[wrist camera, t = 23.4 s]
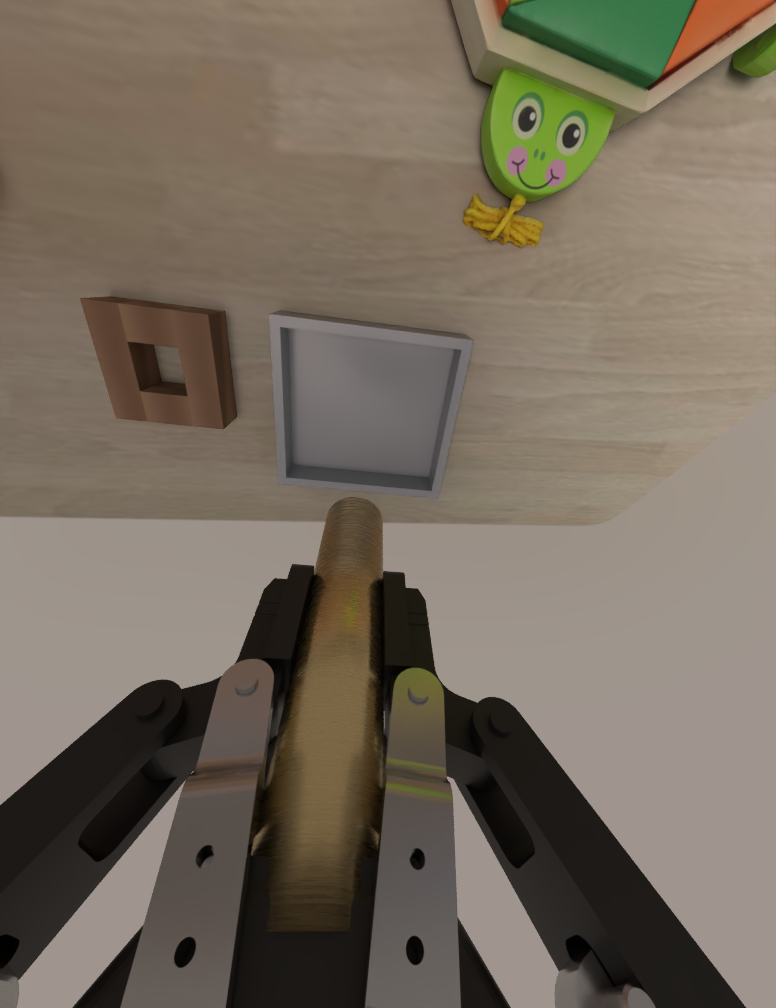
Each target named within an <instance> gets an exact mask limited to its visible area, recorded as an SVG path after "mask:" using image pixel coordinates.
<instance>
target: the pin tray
mask: <svg viewBox="0 0 776 1008" xmlns="http://www.w3.org/2000/svg"><path fill="white" fill-rule="evenodd" d="M269 326H270V344H271V362H272V380H273V398H274V416H275V434H276V453H277V471H278V484H284V485H295V486H306V487H317V488H327V489H338V490H349V491H360V492H371V493H382V494H393V495H404V496H414V497H425V498H436V499H438V497H439V492H440V488H441V483H442V479H443V474H444V470H445V466H446V461H447V457H448V452H449V448H450V444H451V439H452V435H453V430H454V426H455V421H456V417H457V413H458V408H459V404H460V399H461V395H462V391H463V386H464V382H465V377H466V373H467V368H468V364H469V360H470V355H471V351H472V346H473V342H474V340H473V339H471V338H470V337H468V336H466V335H464V334H456V333H448V332H441V331H433V330H425V329H417V328H410V327H402V326H394V325H387V324H379V323H371V322H363V321H356V320H348V319H340V318H332V317H325V316H317V315H309V314H302V313H294V312H286V311H277V312H274V313H270V314H269Z"/></svg>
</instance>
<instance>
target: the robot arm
mask: <svg viewBox="0 0 776 1008" xmlns="http://www.w3.org/2000/svg"><path fill="white" fill-rule="evenodd" d="M313 578H314V566H310V565H296V564H292V566H291V569H290V572H289V575H288V578H287V579H277V578H275V579H274V580H273V581H272V582H271V583H270V584H269V585H268V586H267V587H266V588H265V589H264V591H263V594H262V596H261V599H260V602H259V605H258V607H257V610H256V612H255V616H254V618H253V620H252V623H251V626H250V628H249V631H248V633H247V636H246V639H245V642H244V644H243V647H242V649H241V652H240V655H239V657H238V659H237V661H236V663H235V664H234V665H233V666H231V667H230V668H229V669H228V670H227V671H226V672H225V673H224V674H223V675H222V676H221V677H219V678H217V679H215V680H213V681H210V682H207V683H204V684H200V685H196V686H192V687H189V688H184V689H181V688H180V687H179V685H178V684H176V683H175V682H173V681H170V680H156V681H152V682H149V683H147V684H144V685H142V686H140V687H139V688H137V689H136V690H134V691H133V692H132V693H130V694H129V695H128V696H127V697H126V698H125V699H123V700H122V701H121V702H120V703H119V704H118V705H116V706H115V707H114V708H113V709H112V710H111V711H109V712H108V713H107V714H106V715H105V716H104V717H102V718H101V719H100V720H99V721H98V722H97V723H96V724H95V725H93V726H92V727H91V728H90V729H88V730H87V731H86V732H85V733H84V734H83V735H82V736H80V737H79V738H78V739H77V740H76V741H75V742H73V743H72V744H71V745H70V746H69V747H68V748H66V749H65V750H64V751H63V752H62V753H61V754H59V755H58V756H57V757H56V758H55V759H54V760H52V761H51V762H50V763H49V764H48V765H47V766H46V767H44V768H43V769H42V770H41V771H40V772H38V773H37V774H36V775H35V776H34V777H33V778H32V779H30V780H29V781H28V782H27V783H26V784H25V785H23V786H22V787H21V788H20V789H19V790H18V791H16V792H15V793H14V794H13V795H12V796H11V797H10V798H8V799H7V800H6V801H5V802H4V803H2V804H1V805H0V1008H16V1007H17V1003H18V997H19V983H18V980H19V979H20V978H21V977H22V975H23V974H24V973H25V972H26V971H27V969H28V968H29V967H30V966H31V965H32V963H33V962H34V961H35V960H36V959H37V957H38V956H39V955H40V954H41V952H42V951H43V950H44V949H45V948H46V947H47V945H48V944H49V943H50V942H51V941H52V939H53V938H54V937H55V936H56V935H57V933H58V932H59V931H60V930H61V929H62V927H63V926H64V925H65V924H66V923H67V921H68V920H69V919H70V918H71V917H72V916H73V914H74V913H75V912H76V911H77V910H78V908H79V907H80V906H81V905H82V904H83V902H84V901H85V900H86V899H87V897H88V896H89V895H90V894H91V893H92V892H93V890H94V889H95V888H96V886H97V885H98V884H99V883H100V882H101V881H102V880H103V878H104V877H105V876H106V874H107V873H108V872H109V871H110V870H111V869H112V867H113V866H114V865H115V864H116V862H117V861H118V860H119V859H120V858H121V857H122V855H123V854H124V853H125V852H126V851H127V849H128V848H129V847H130V846H131V845H132V844H133V842H134V841H135V840H136V839H137V837H138V836H139V835H140V834H141V833H142V831H143V830H144V829H145V828H146V827H147V825H148V824H149V823H150V822H151V821H152V820H153V818H154V817H155V816H156V815H157V814H158V812H159V811H160V810H161V809H162V808H163V806H164V805H165V804H166V803H167V802H168V800H169V799H170V798H171V797H172V796H173V794H174V793H175V792H176V791H177V790H178V788H179V787H180V786H181V785H182V784H183V782H184V781H185V780H186V781H185V784H184V786H183V788H182V792H181V794H180V798H179V801H178V805H177V808H176V812H175V815H174V819H173V822H172V826H171V830H170V833H169V837H168V840H167V844H166V847H165V851H164V855H163V858H162V862H161V865H160V869H159V872H158V876H157V879H156V883H155V886H154V890H153V893H152V897H151V901H150V904H149V908H148V912H147V915H146V918H145V922H144V925H143V926H142V927H141V928H140V930H139V931H138V932H137V933H136V934H135V935H134V937H133V938H132V939H131V940H130V941H129V942H128V944H127V945H126V946H125V947H124V948H123V949H122V950H121V952H120V953H119V954H118V955H117V956H116V957H115V959H114V960H113V961H112V962H111V963H110V964H109V966H108V967H107V968H106V969H105V970H104V971H103V973H102V974H101V975H100V976H99V977H98V978H97V980H96V981H95V982H94V983H93V984H92V986H91V987H90V988H89V989H88V990H87V991H86V992H85V994H84V995H83V996H82V997H81V999H79V1001H78V1002H77V1003H76V1004H75V1005H74V1007H73V1008H511V1007H510V1006H509V1004H508V1002H507V1001H506V999H505V997H504V995H503V994H502V992H501V991H500V989H499V987H498V985H497V984H496V982H495V980H494V978H493V977H492V975H491V973H490V972H489V970H488V968H487V967H486V965H485V963H484V961H483V960H482V958H481V956H480V954H479V953H478V951H477V950H476V948H475V946H474V944H473V943H472V941H471V939H470V937H469V936H468V934H467V932H466V931H465V929H464V927H463V925H462V924H461V922H460V920H459V919H458V917H457V893H456V869H455V842H454V816H453V796H452V789H451V785H450V782H449V781H448V780H447V776H449V777H451V778H453V779H454V780H455V782H456V784H457V786H458V788H459V790H460V791H461V793H462V795H463V797H464V799H465V801H466V802H467V804H468V806H469V808H470V810H471V812H472V813H473V815H474V817H475V819H476V821H477V822H478V824H479V826H480V828H481V830H482V832H483V833H484V835H485V837H486V839H487V841H488V842H489V844H490V846H491V848H492V850H493V852H494V854H495V855H496V857H497V859H498V861H499V863H500V864H501V866H502V868H503V870H504V872H505V873H506V875H507V877H508V879H509V881H510V883H511V885H512V886H513V888H514V890H515V892H516V894H517V895H518V897H519V899H520V901H521V903H522V904H523V906H524V908H525V910H526V911H527V914H528V915H529V917H530V919H531V921H532V923H533V924H534V926H535V928H536V930H537V932H538V934H539V936H540V937H541V939H542V941H543V943H544V945H545V946H546V948H547V950H548V952H549V954H550V956H551V957H552V959H553V961H554V963H555V965H556V966H557V968H558V970H559V974H558V976H557V980H556V984H555V1007H556V1008H746V1007H745V1006H744V1004H742V1002H741V1000H740V999H739V998H738V997H737V995H736V994H735V993H734V992H733V990H732V989H731V988H730V986H729V985H728V984H727V982H726V981H725V980H724V978H723V977H722V976H721V975H720V973H719V972H718V971H717V969H716V968H715V967H714V966H713V964H712V963H711V961H710V960H709V959H708V958H707V956H706V955H705V954H704V952H703V951H702V950H701V949H700V947H699V946H698V945H697V943H696V942H695V941H694V939H693V938H692V937H691V935H690V934H689V933H688V932H687V930H686V929H685V928H684V926H683V925H682V924H681V922H680V921H679V920H678V919H677V917H676V916H675V915H674V913H673V912H672V911H671V909H670V908H669V907H668V905H667V904H666V903H665V902H664V900H663V899H662V898H661V896H660V895H659V894H658V893H657V891H656V890H655V889H654V887H653V886H652V885H651V883H650V882H649V881H648V880H647V878H646V877H645V876H644V874H643V873H642V872H641V870H640V869H639V868H638V866H637V865H636V864H635V863H634V861H633V860H632V859H631V857H630V856H629V855H628V853H627V852H626V851H625V850H624V848H623V847H622V846H621V844H620V843H619V842H618V840H617V839H616V838H615V837H614V835H613V834H612V833H611V831H610V830H609V829H608V827H607V826H606V825H605V824H604V822H603V821H602V820H601V818H600V817H599V816H598V814H597V813H596V812H595V811H594V809H593V808H592V807H591V805H590V804H589V803H588V801H587V800H586V799H585V798H584V796H583V795H582V794H581V792H580V791H579V790H578V788H577V787H576V786H575V785H574V784H573V782H572V781H571V779H570V778H569V777H568V775H567V774H566V773H565V771H564V770H563V769H562V768H561V766H560V765H559V764H558V763H557V761H556V760H555V759H554V757H553V756H552V755H551V753H550V752H549V751H548V749H547V748H546V747H545V746H544V744H543V743H542V742H541V740H540V739H539V738H538V736H537V735H536V734H535V732H534V731H533V730H532V729H531V727H530V726H529V725H528V723H527V722H526V721H525V720H524V718H523V717H522V716H521V714H520V713H519V712H518V711H517V709H516V708H515V707H513V706H512V705H511V704H510V703H508V702H507V701H505V700H503V699H500V698H496V697H488V698H484V699H482V700H481V701H479V702H478V703H476V702H474V701H471V700H469V699H466V698H464V697H461V696H459V695H457V694H454V693H453V692H451V691H449V690H448V689H447V688H446V687H445V686H444V685H443V684H442V682H441V681H440V680H439V678H438V676H437V674H436V671H435V667H434V660H433V652H432V645H431V637H430V630H429V623H428V617H427V609H426V601H425V599H424V598H423V596H422V594H421V593H420V591H419V590H418V589H414V588H406V587H405V575H404V573H401V572H387V571H384V572H383V577H382V681H383V686H384V711H385V728H384V775H383V782H382V789H381V799H380V810H379V821H378V832H377V834H378V851H377V858H364V857H362V874H361V891H356V892H355V895H354V898H353V902H352V906H351V914H350V931H272V932H266V930H267V925H268V919H269V913H270V893H269V891H264V889H265V883H266V878H267V873H268V868H269V863H270V857H268V856H251V852H252V846H253V841H254V838H255V836H256V835H257V834H258V832H259V825H260V818H261V812H262V805H263V799H264V793H265V785H266V781H267V777H268V772H269V768H270V763H271V759H272V755H273V750H274V746H275V742H276V737H277V733H278V728H279V724H280V720H281V715H282V711H283V707H284V702H285V698H286V693H287V689H288V685H289V680H290V677H291V675H292V671H293V666H294V662H295V657H296V653H297V649H298V644H299V640H300V635H301V631H302V626H303V622H304V618H305V613H306V609H307V604H308V600H309V595H310V591H311V587H312V582H313ZM192 771H194V772H193V773H192ZM191 773H192V774H191Z"/></svg>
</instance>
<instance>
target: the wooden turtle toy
mask: <svg viewBox="0 0 776 1008" xmlns="http://www.w3.org/2000/svg"><path fill="white" fill-rule="evenodd" d="M451 3H452V6H453V9H454V13H455V16H456V20H457V23H458V27H459V30H460V33H461V37H462V40H463V44H464V47H465V51H466V54H467V57H468V60H469V63H470V66H471V70H472V73H473V75H474V77H475V78H477V79H479V80H481V81H483V82H485V83H488V84H490V85H492V86H493V87H492V90H491V93H490V95H489V98H488V101H487V103H486V107H485V112H484V116H483V121H482V128H481V146H482V155H483V159H484V164H485V167H486V170H487V173H488V175H489V177H490V179H491V180H492V182H493V184H494V185H495V186H496V187H497V189H498V190H499V191H501V192H502V193H503V194H504V195H506V196H508V197H510V198H512V201H511V204H510V208H507V207H501V208H500V209H498V208H492V207H489V206H486V205H485V204H484V203H483V201H482V200H481V198H480V197H479V196H478V195H477V194H476V195H474V196H473V201H472V202H471V203H470V207H469V208H468V209H466V210H465V211H464V214H465V216H464V218H463V222H464V224H465V225H466V226H469V227H472V228H475V229H476V230H477V231H479V232H480V234H481V235H482V236H483V237H485V238H487V239H488V240H493V239H497V240H499V241H500V243H501V244H505V243H506V242H507V241H511V242H512V243H513V244H515V245H518V246H519V247H523V246H525V245H530V246H535V245H537V244H538V243H539V242H540V235H541V230H542V229H543V227H544V224H543V223H542V222H540V221H538V220H536V219H534V218H530V217H524V216H520V215H517V214H514V212H515V211H519V210H520V209H521V208H522V207H523V206H524V205H525V203H526V202H535V201H538V200H541V199H543V198H545V197H547V196H549V195H551V194H554V193H556V192H558V191H559V190H561V189H563V188H565V187H567V186H569V185H570V184H571V183H573V182H574V181H575V180H577V179H578V178H579V177H580V176H581V175H582V174H583V173H584V172H585V171H586V170H587V169H588V168H589V166H590V165H591V164H592V163H593V161H594V160H595V158H596V157H597V155H598V154H599V152H600V150H601V148H602V147H603V145H604V143H605V141H606V139H607V136H608V133H609V131H610V132H614V131H615V130H617V129H619V128H620V127H622V126H624V125H625V124H627V123H629V122H630V121H632V120H633V119H635V118H637V117H638V116H640V115H642V114H643V113H645V112H646V111H648V110H650V109H651V108H652V107H654V106H655V105H657V104H658V103H660V102H661V101H663V100H664V99H666V98H667V97H669V96H670V95H672V94H673V93H674V92H676V91H677V90H679V89H680V88H682V87H683V86H685V85H686V84H688V83H689V82H691V81H692V80H693V79H695V78H696V77H698V76H699V75H701V74H702V73H704V72H705V71H707V70H708V69H710V68H711V67H712V66H714V65H715V64H717V63H718V62H720V61H721V60H723V59H724V58H726V57H727V56H729V55H730V54H731V53H733V52H734V51H735V52H734V55H733V67H734V68H735V69H736V70H738V71H741V72H743V73H745V74H747V75H749V76H752V77H762V76H764V75H767V74H769V73H771V72H772V71H774V70H775V69H776V0H451Z"/></svg>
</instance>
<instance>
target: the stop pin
mask: <svg viewBox="0 0 776 1008" xmlns="http://www.w3.org/2000/svg"><path fill="white" fill-rule="evenodd" d="M382 527H383V520H382V515H381V513H380V511H379V509H378V508H377V507H376V506H375V505H374V504H373V503H371V502H370V501H368V500H365V499H362V498H357V497H351V498H345V499H342V500H340V501H338V502H336V503H335V504H334V505H333V506H332V507H331V508H330V510H329V512H328V514H327V519H326V523H325V528H324V532H323V536H322V540H321V545H320V549H319V554H318V558H317V562H316V567H315V571H314V578H313V582H312V587H311V591H310V595H309V600H308V604H307V609H306V613H305V618H304V622H303V626H302V631H301V635H300V640H299V644H298V649H297V653H296V657H295V662H294V666H293V671H292V675H291V677H290V680H289V685H288V689H287V693H286V698H285V702H284V707H283V711H282V715H281V720H280V724H279V728H278V733H277V737H276V742H275V746H274V750H273V755H272V759H271V763H270V768H269V772H268V777H267V781H266V785H265V793H264V799H263V805H262V812H261V818H260V825H259V832H258V834H257V835H256V836H255V838H254V841H253V846H252V852H251V856H268V857H270V863H269V868H268V873H267V878H266V883H265V889H264V891H269V893H270V913H269V919H268V925H267V930H266V932H272V931H350V914H351V906H352V902H353V898H354V895H355V892H356V891H361V874H362V857H364V858H377V851H378V834H377V832H378V821H379V810H380V799H381V789H382V782H383V775H384V686H383V681H382V577H383V528H382Z"/></svg>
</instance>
